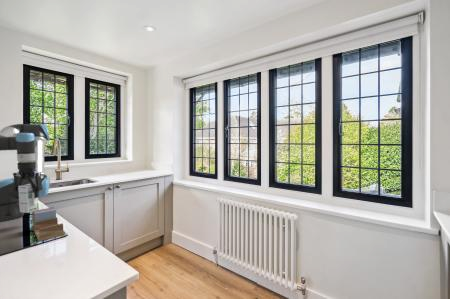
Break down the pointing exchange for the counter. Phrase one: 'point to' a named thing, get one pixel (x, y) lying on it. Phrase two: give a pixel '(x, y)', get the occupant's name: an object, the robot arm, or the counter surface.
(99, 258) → the counter surface
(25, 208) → the syrup box
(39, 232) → the book rack
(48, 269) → the counter surface
